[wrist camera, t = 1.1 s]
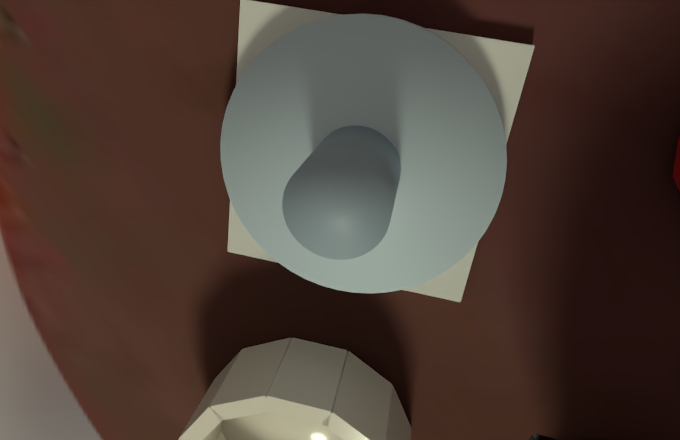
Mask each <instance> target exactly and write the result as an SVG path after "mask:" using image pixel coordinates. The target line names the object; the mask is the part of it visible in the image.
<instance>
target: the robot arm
mask: <svg viewBox="0 0 680 440" xmlns="http://www.w3.org/2000/svg"><path fill="white" fill-rule="evenodd" d="M529 440H559V439H555V438H551V437H547V436H543V435H538V434H536V435H532V436H531V438H530V439H529Z"/></svg>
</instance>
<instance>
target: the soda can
mask: <svg viewBox="0 0 680 440" xmlns="http://www.w3.org/2000/svg"><path fill="white" fill-rule="evenodd" d="M673 178H674V181H675V183H676V185H677V187H678V189H679V191H680V136H679V138H678V143H677V150H676V156H675V163H674V169H673Z"/></svg>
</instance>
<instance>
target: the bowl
mask: <svg viewBox="0 0 680 440" xmlns="http://www.w3.org/2000/svg"><path fill="white" fill-rule="evenodd" d="M178 440H411V426H410V423H409V421H408V419H407V417H406V414H405V412H404V410H403V407H402V405H401V403H400V400H399V398H398V396H397V393H396V391H395V389H394V386H393V385H392V384H391V383H390V382H389V381H387V380H386V379H385V378H384V377H382V376H381V375H380V374H378V373H377V372H376V371H374V370H373V369H372V368H371V367H369V366H368V365H367V364H365V363H364V362H363V361H361V360H360V359H359V358H358V357H356V356H355V355H354V354H352V353H351V352H350V351H348V352H347V350H345V349H340V348H336V347H332V346H327V345H323V344H319V343H315V342H310V341H306V340H302V339H298V338H291V337H290V338H286V339H282V340H277V341H273V342H269V343H264V344H260V345H256V346H251V347H247V348H243V349H242V350H241V351H240V352H239V353H238V354H237V355H236V356H235V357H234V358H233V359H232V360H231V362H230V363H229V364H228V365H227V366H226V367H225V368H224V369H223V370H222V371H221V372H220V373H219V375H218V376H217V377H216V378H215V379H214V381H213V382H212V384H211V386H210V387H209V389H208V391H207V392H206V394H205V396H204V397H203V399H202V401H201V402H200V404H199V406H198V407H197V409H196V411H195V412H194V414H193V416H192V417H191V419H190V421H189V422H188V424H187V426H186V427H185V429H184V431H183V432H182V434H181V436H180V437H179V439H178Z"/></svg>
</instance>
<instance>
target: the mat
mask: <svg viewBox="0 0 680 440" xmlns="http://www.w3.org/2000/svg"><path fill="white" fill-rule="evenodd" d="M337 15H341V14H335V13H329V12H323V11H316V10H310V9H304V8H298V7H291V6H285V5H279V4H273V3H266V2H260V1H254V0H240V17H239V37H238V56H237V76H236V85H237V83H238V81H239V80H240V78H241V76H242V75H243V73H244V72H245V71H246V69H247V68H248V67H249V65H250V64H251V63H252V61H253V60H254V59H255V58H256V57H257V56H258V55H259V54H260V53H261V52H262V51H263V50H264V49H265V48H266V47H267V46H269V45H270V44H272V43H273V42H274V41H276V40H277V39H278V38H280V37H281V36H282V35H284V34H286V33H288V32H290V31H292V30H294V29H295V28H297V27H299V26H301V25H304V24H307V23H310V22H313V21H315V20H318V19H322V18H327V17H332V16H337ZM425 29H427V30H429V31H430V32H432V33H434V34H436V35H438V36H439V37H441V38H442V39H444V40H445V41H446V42H448V43H449V44H450V45H451V46H453V47H454V48H455V49H457V50H458V51H459V52H460V53H461V54H462V55H463V56H464V57H465V58H466V59H467V61H468V62H469V63H470V64H471V65H472V66H473V67H474V69H475V70H476V72H477V73H478V74H479V76H480V77H481V78H482V80H483V81H484V83H485V85H486V87H487V88H488V90H489V92H490V94H491V96H492V98H493V100H494V102H495V104H496V107H497V110H498V112H499V115H500V118H501V121H502V125H503V130H504V135H505V139H506V144H507V140H508V137H509V133H510V130H511V126H512V123H513V119H514V116H515V112H516V109H517V106H518V102H519V99H520V95H521V92H522V88H523V85H524V81H525V78H526V75H527V71H528V68H529V64H530V61H531V57H532V54H533V50H534V47H535V46H534V45H529V44H523V43H517V42H510V41H504V40H498V39H492V38H485V37H479V36H473V35H467V34H460V33H454V32H448V31H442V30H435V29H429V28H425ZM477 244H478V242H477ZM477 244H476V245H475V246H474V247H473V248H472V249H471V250H470V251H469V252H468V253H467V254H466V255H465V256H464V258H462V259H461V260H460V261H459V262H457V263H456V264H455V265H454V266H452V267H451V268H450V269H448V270H446V271H445V272H443V273H442V274H440V275H438V276H437V277H435V278H433V279H430V280H428V281H426V282H424V283H421V284H419V285H416V286H413V287H409V288H406V289H403V290H406V291H411V292H415V293H420V294H424V295H429V296H434V297H438V298H443V299H447V300H452V301H457V302H461V299H462V295H463V292H464V288H465V285H466V282H467V278H468V275H469V271H470V268H471V264H472V261H473V257H474V254H475V250H476V247H477ZM228 252H232V253H236V254H241V255H245V256H250V257H255V258H259V259H264V260H268V261H273V262H277V261H276V260H274V259H273V258H272V257H271V256H270V255H269V254H267V253H266V252H265V251H264V250H263V249H262V248H261V247H260V246H259V244H258V243H257V242H256V241H255V240H254V239H253V238H252V236H251V235H250V234H249V232H248V231H247V230H246V228H245V227H244V225H243V224H242V222H241V220H240V218H239V217H238V215H237V213H236V211H235V210H234V207H233V205H232V202H231V200H230V213H229V233H228Z"/></svg>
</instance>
